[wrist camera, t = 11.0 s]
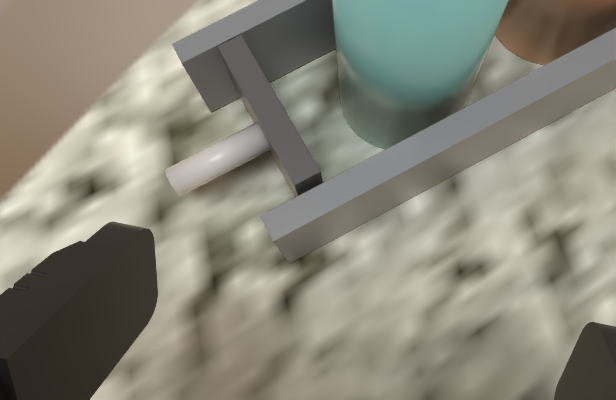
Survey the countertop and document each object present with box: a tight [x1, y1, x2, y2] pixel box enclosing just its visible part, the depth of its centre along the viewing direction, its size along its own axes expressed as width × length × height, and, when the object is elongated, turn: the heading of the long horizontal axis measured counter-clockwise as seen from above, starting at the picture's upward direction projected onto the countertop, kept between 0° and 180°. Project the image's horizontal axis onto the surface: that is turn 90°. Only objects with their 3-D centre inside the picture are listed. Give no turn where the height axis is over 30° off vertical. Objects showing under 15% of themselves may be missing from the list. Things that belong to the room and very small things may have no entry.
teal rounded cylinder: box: [332, 0, 508, 149], centre depth 17 cm, size 6×6×10 cm
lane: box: [172, 0, 616, 264], centre depth 20 cm, size 20×9×4 cm, turn 118°
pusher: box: [165, 35, 323, 198], centre depth 20 cm, size 5×6×4 cm
